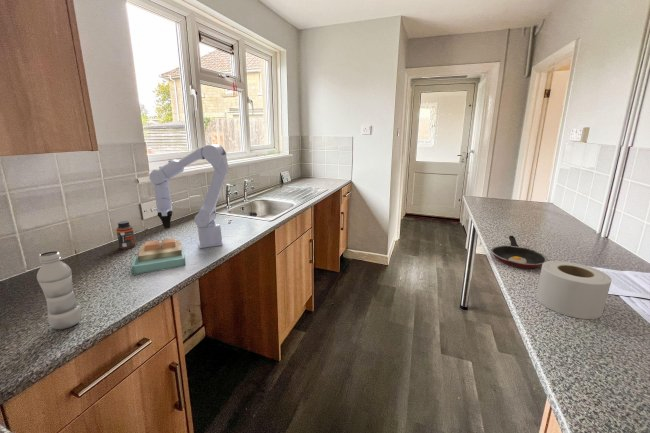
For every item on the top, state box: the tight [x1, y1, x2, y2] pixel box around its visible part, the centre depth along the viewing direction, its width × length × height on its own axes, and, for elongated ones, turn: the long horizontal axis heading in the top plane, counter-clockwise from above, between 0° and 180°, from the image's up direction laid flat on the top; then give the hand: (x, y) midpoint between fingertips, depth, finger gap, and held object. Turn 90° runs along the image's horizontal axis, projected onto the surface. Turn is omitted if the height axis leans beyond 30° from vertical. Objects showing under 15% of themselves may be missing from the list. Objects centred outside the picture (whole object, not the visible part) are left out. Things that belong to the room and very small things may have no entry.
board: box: [137, 239, 182, 262], centre depth 125 cm, size 15×13×2 cm
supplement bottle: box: [116, 220, 136, 250], centre depth 130 cm, size 6×6×11 cm
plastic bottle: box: [36, 250, 82, 330], centre depth 76 cm, size 6×7×20 cm
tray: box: [131, 248, 186, 275], centre depth 114 cm, size 17×10×3 cm, turn 116°
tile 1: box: [144, 239, 161, 251], centre depth 124 cm, size 5×5×2 cm
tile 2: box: [160, 237, 176, 248], centre depth 127 cm, size 5×5×2 cm
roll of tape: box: [535, 260, 612, 320], centre depth 87 cm, size 16×15×11 cm
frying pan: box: [490, 235, 549, 270], centre depth 124 cm, size 19×32×4 cm, turn 155°
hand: (167, 228), depth 132 cm, fingers closed
